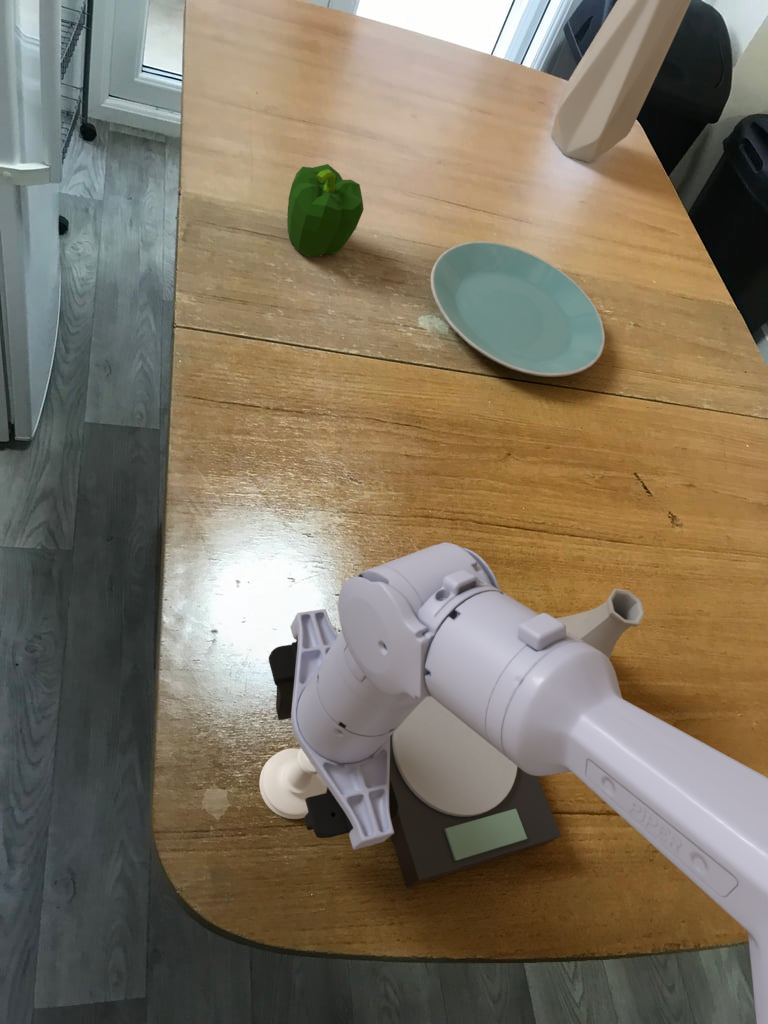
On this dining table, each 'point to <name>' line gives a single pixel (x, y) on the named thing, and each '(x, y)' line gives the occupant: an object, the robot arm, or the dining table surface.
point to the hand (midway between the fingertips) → (305, 765)
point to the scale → (459, 798)
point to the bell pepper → (322, 210)
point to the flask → (606, 621)
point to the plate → (517, 309)
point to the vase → (615, 76)
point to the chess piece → (290, 783)
